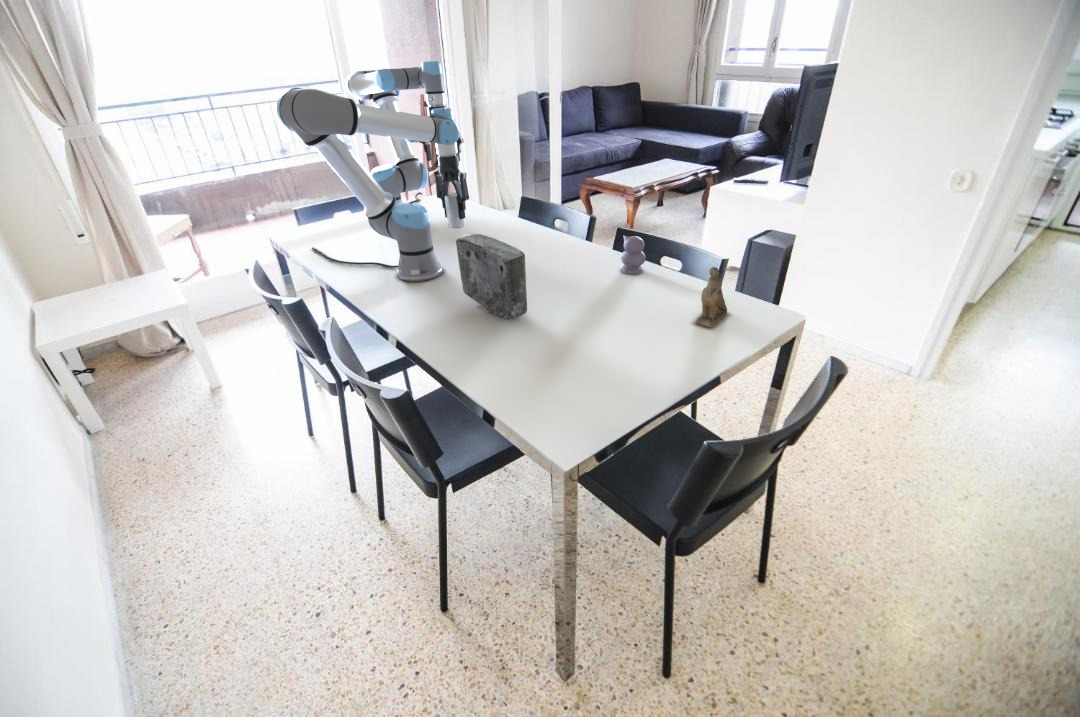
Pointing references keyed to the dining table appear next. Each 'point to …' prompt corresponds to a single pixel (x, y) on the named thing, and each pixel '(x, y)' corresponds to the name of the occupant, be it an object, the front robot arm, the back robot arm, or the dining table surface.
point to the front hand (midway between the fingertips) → (455, 217)
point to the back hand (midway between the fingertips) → (443, 161)
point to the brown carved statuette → (712, 301)
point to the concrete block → (493, 274)
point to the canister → (453, 211)
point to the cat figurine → (633, 254)
